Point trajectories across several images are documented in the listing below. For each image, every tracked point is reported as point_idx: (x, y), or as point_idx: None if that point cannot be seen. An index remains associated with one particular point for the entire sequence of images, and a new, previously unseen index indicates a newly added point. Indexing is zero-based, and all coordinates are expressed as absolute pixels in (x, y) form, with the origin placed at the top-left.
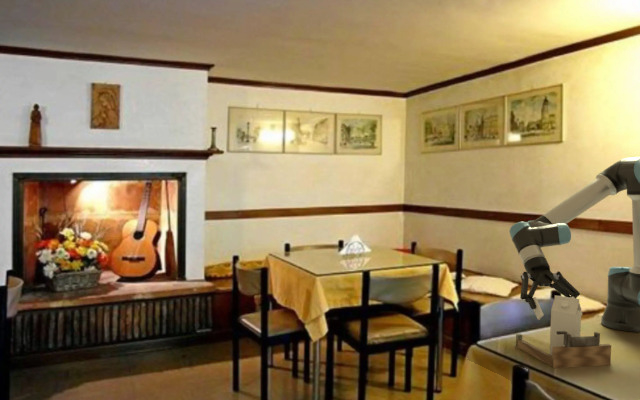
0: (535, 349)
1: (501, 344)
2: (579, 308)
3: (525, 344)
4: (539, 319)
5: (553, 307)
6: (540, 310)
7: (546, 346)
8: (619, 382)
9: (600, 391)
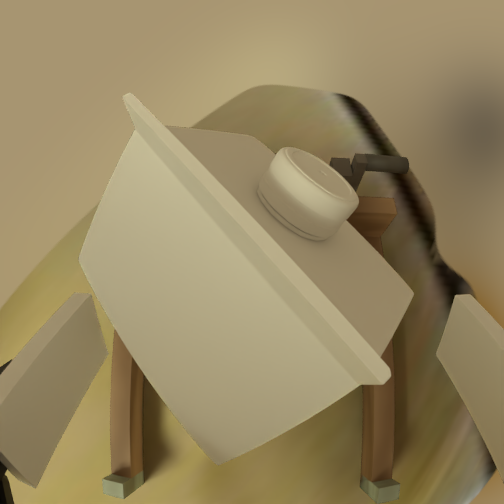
0: (392, 348)
1: (421, 494)
2: (93, 249)
3: (393, 423)
4: (440, 352)
5: (397, 293)
6: (487, 320)
7: (241, 472)
8: (235, 126)
9: (325, 100)
